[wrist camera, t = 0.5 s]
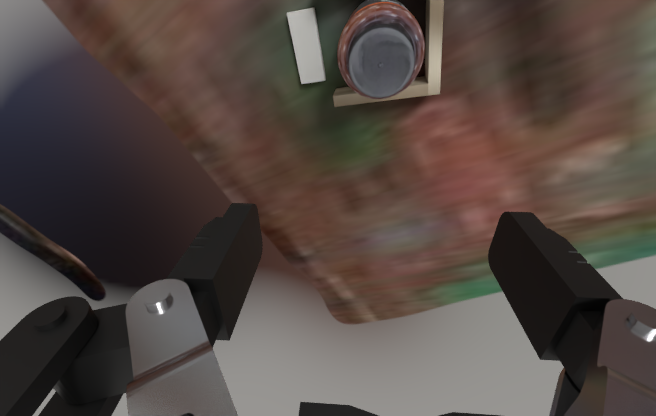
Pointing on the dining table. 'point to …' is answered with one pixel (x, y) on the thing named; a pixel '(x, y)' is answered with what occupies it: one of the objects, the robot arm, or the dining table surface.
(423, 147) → the dining table surface
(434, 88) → the divider rack
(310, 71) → the bezel tiles
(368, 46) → the supplement bottle
